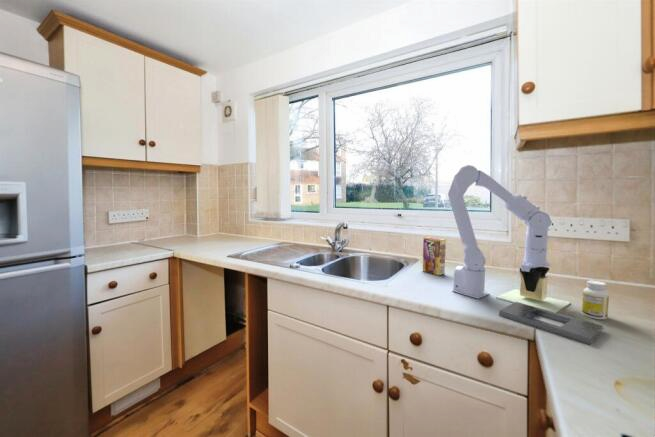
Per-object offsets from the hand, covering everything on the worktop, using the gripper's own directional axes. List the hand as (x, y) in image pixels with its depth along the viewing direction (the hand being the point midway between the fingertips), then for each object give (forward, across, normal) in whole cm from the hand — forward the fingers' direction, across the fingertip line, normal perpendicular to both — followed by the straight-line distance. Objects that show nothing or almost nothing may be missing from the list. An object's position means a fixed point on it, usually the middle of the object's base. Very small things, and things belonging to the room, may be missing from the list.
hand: (533, 289), depth 95 cm
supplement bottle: (+4, +1, -15) cm, 16 cm away
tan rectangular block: (+2, 0, 0) cm, 2 cm away
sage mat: (+4, 0, 0) cm, 4 cm away
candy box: (+4, +3, +39) cm, 39 cm away
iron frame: (+4, -15, -9) cm, 18 cm away
